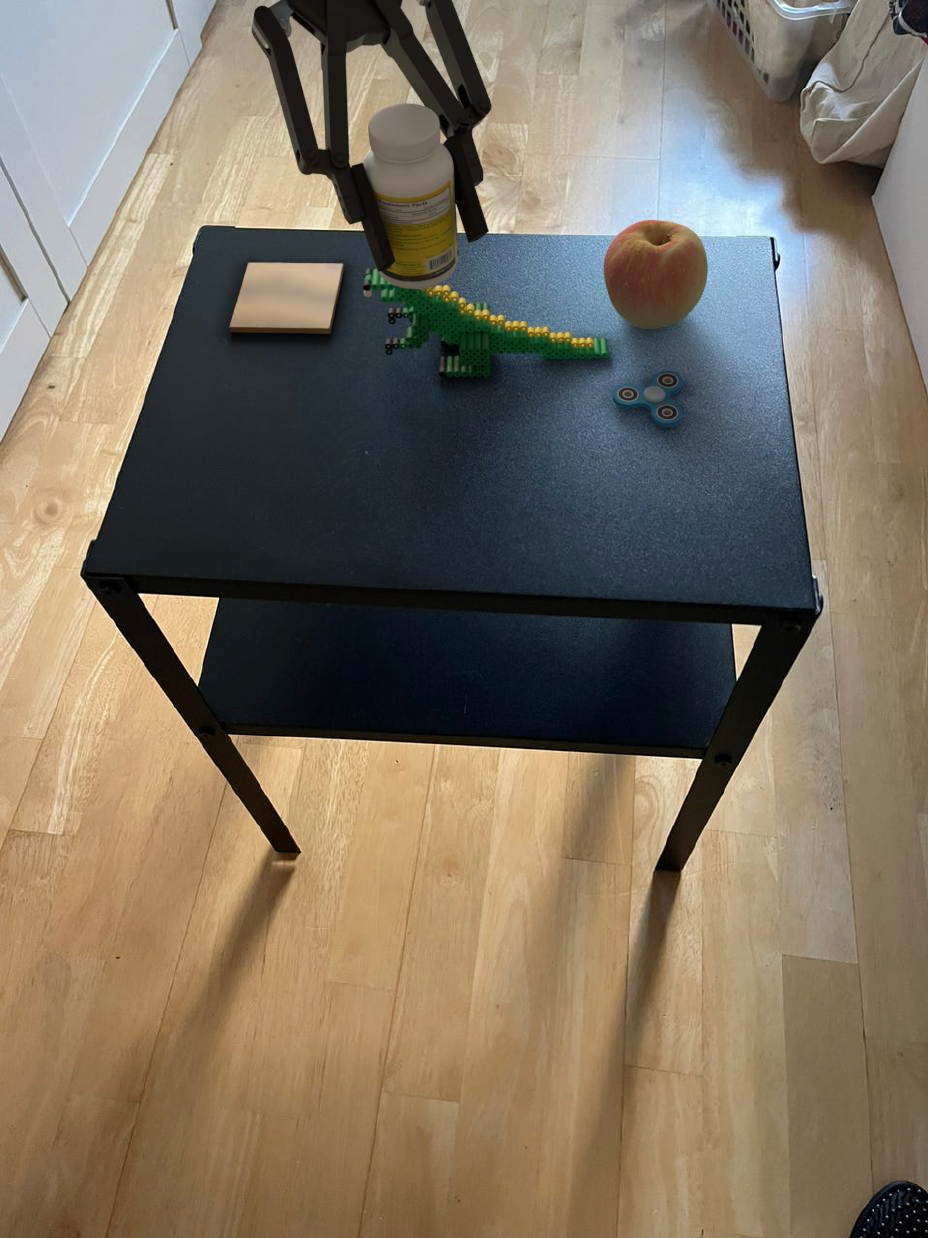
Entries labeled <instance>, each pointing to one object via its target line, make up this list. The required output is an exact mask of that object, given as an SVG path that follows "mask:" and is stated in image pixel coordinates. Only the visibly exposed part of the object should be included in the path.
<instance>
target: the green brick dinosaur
mask: <svg viewBox="0 0 928 1238" xmlns="http://www.w3.org/2000/svg"><path fill="white" fill-rule="evenodd" d="M363 278H364V279H363V282H362V289H363V296H364V297H366V298H370V297H372V293H373V291H378V290H380V291H381V293H380V302H381V303H382V304H386V303H388V302H389V303H391V304H394V303H396V302H397V303H400V304H401V303H403V302H404V305H403V306H404V307H403V308H401V307H396V308H394V307H389V308H388V309H387V319H388V321H387V322H388V324H390V325H395V324H396V321H397V319H402V318H404V319H408V322H409V323H411V324H412V325H411V326H409V327H407V328H406V338H405V337H402V338H400V339H399V338H397V337H395V338H393V339H392V338H386V339H385V340H384V349H385V350H384V351H385V355H387V356H391V355H392V354H393V353H394V350H398V349H401V350H406V349H409V350H413V349H417V350H420V349H422V348H423V343H424V344H426V343H428V342H429V341H430V332H431V333H433V334H434V333H437V338H438V339H440V346H443V347H446V346H447V345H448V346H452V347H453V346H454V345H456V346H458V353H459V355H456V356H452V355H449V356H447V357H446V356H445V355H441V356H440V357H439V361H438V376H439V377H440V378H445V377H446V376H447V377H448V378H452V377H455V378H458V377H463V378H466V377H468V376H469V377H472V378H473V377H478V378H480V377H482V376H483V377H486V378H488V377H489V376H490V375H491V355H493V356H496V355H497V354H498V355H505V354H506V355H512V354H513V355H518V354H521V355H526V354H528V355H533V354H534V353H535V354H537V355H540V354H541V359H543V360H545V361H546V360H548V359H550V360H556V359H557V360H563V359H565V360H570V359H573V360H578V359H580V360H584V359H587V360H588V359H589V360H591V359H593V358H594V359H595V360H596V359H597V360H598V359H601V358H602V359H607V358H609V350H608V347H609V346H608V338H606V337H602V338H598V337H594V338H592V337H587V338H585V337H580V338H577V337H572V336H573V335H572V333H571V332H570V331H566V332H562V331H558V332H557V333H556V331H555V332H553V331H552V332H551V331H550V327H549V326H542V327H541V326H536V327H533V326H528V322H527V321H525V320H522V321H519V320H513V322H512V321H511V320H507V321H505V319H506V318H505V315H503V314H499V315H498V316H497V315H495V314H491V304H490V303H489V302H487V301H486V302H485V301H484V302H483V303H482V302H480V301H478V302H476V303H475V302H473V301H471V302H469V303H467V299H466V298H465V297H460V295H459V292H458V291H456V290H455V291H452V292H451V286H450V285H449V284H444V285H443V286H442V285H441V284H438V285H435V286H433V287H429V288H425V289H406V288H401V287H398V286H395V285H392V284H390V283H389V282H387V281H386V280H384V279H383V278H382V277H381V276H380V274H379V273H378V271H377V269H376V268H374V269H371V268H366V269H365V270H364V274H363Z"/></svg>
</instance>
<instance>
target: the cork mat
mask: <svg viewBox="0 0 928 1238" xmlns="http://www.w3.org/2000/svg"><path fill="white" fill-rule="evenodd" d="M344 271H345V265H344V263H326V262H325V263H322V262H321V263H318V262H317V263H315V262H313V263H312V262H309V263H308V262H247V266H246V269H245V273H244V277H243V279H242V283H241V286H240V289H239V293H238V296H237V299H236V303H235V306H234V310H233V314H232V317H231V320H230V323H229V331H230V333H254V334H256V333H257V334H261V333H262V334H263V333H264V334H316V335H317V334H319V335H320V334H322V335H323V334H324V335H329V334H331V332H332V329H333V328H332V327H333V324H334V319H335V314H336V309H337V305H338V299H339V294H340V291H341V287H342V282H343V281H342V280H343V277H344Z"/></svg>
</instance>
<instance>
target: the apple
mask: <svg viewBox="0 0 928 1238" xmlns="http://www.w3.org/2000/svg"><path fill="white" fill-rule="evenodd" d="M604 255H605V256H604V260H603V279H604V285H605V287H606V291H607V294H608V298H609V300H610V302H611V305H612V306H613V308H614V310H615V311H616V313H617V314H618V315H619V316H620V317H621V318H622V319H623V320H624V321H625V322H627V323H629V324H630V325H631V326H633V327H636V328H639V329H644V330H658V329H662V328H666V327H669V326H673V325H675V324H677V323H678V322H680V321H682V320H684V319H685V318H686V317H688V315H690V313H691V312H693V310H694V309H695V308H696V306H697V305H698V303H699V302H700V300H701V298H702V296H703V295H704V292H705V288H706V286H707V280H708V273H709V266H708V258H707V252H706V249H705V245H704V243H703V242H702V239H701V238H700V237H699V236H698V234H697V233H696V232H695V231H694V230H693V229H691V228H690V227H688V226H687V225H684V224H681V223H677V222H674V221H670V220H669V221H668V220H659V219H644V220H641V221H637V222H635V223H632V224H630V225H628V226H627V227H626V228H624V229H623V230H622V231H620V232H619V233H618V234H617V235H616V236H615V237H614V238H613V240H612V241H611V242H610V244H609V246H608V247H607V250H606V252H605V254H604Z"/></svg>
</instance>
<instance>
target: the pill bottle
mask: <svg viewBox="0 0 928 1238" xmlns="http://www.w3.org/2000/svg"><path fill="white" fill-rule="evenodd" d="M367 132H368V142H369V146H370V149H369V150H368V151H367V153H366V154H365V156H364V160H363V162H362V163H363V165H364V168H365V171H366V174H367V177H368V180H369V183H370V186H371V189H372V192H373V195H374V198H375V201H376V204H377V207H378V210H379V213H380V216H381V219H382V222H383V225H384V227H385V230H386V233H387V236H388V239H389V242H390V245H391V248H392V251H393V254H394V257H395V260H396V261H395V262H394V263H393V264H392V265H391V266H390V267H389V268H388V269H386V270H383V271H380V272H378V273H379V274H380V276H381V277H382V278H383V279H384V280H386V281H387V282H389V283H390V284H392V285H395V286H398V287H401V288H406V289H425V288H429V287H433V286H434V287H436V286H437V285H441V284H442V283H443V282H445V281H446V280H447V279H449V278H450V277H451V276H452V275H453V274H454V272H455V271H456V269H457V267H458V264H459V235H458V234H459V233H458V219H457V218H458V217H457V206H456V200H455V182H454V166H453V160H452V157H451V155H450V153H449V151H448V150H447V148H446V147H445V146H444V145H443V143H442V142H441V130H440V122H439V118H438V116H437V115H436V113H435V112H434V111H432V110H431V109H429V108H427V107H425V106H424V105H423V104H420V103H419V104H418V103H412V102H411V103H410V102H408V103H407V102H406V103H405V102H404V103H396V104H392V105H388V106H386V107H383V108H382V109H379V110H378V111H377V112H376V113H374V114H373V115H372V117H371V118H370V119H369V121H368V124H367ZM374 265H375V264H374ZM375 269H377V268H376V265H375Z"/></svg>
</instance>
